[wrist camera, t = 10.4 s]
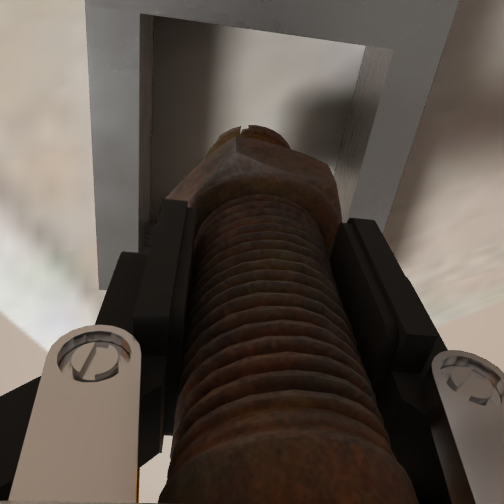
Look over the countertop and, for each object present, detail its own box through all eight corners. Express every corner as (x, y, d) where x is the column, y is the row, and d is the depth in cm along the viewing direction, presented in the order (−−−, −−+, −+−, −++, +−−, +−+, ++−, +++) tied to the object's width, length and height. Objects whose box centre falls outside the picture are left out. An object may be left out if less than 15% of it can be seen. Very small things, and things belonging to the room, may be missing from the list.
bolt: (356, 123, 16) (916, 865, 3) (300, 246, 18) (470, 932, 5) (185, 65, 14) (-122, 908, 2) (150, 206, 17) (-78, 968, 4)
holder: (422, -8, 16) (459, 0, 13) (342, 269, 22) (357, 310, 20) (107, -58, 15) (81, -59, 12) (114, 248, 21) (99, 289, 18)
